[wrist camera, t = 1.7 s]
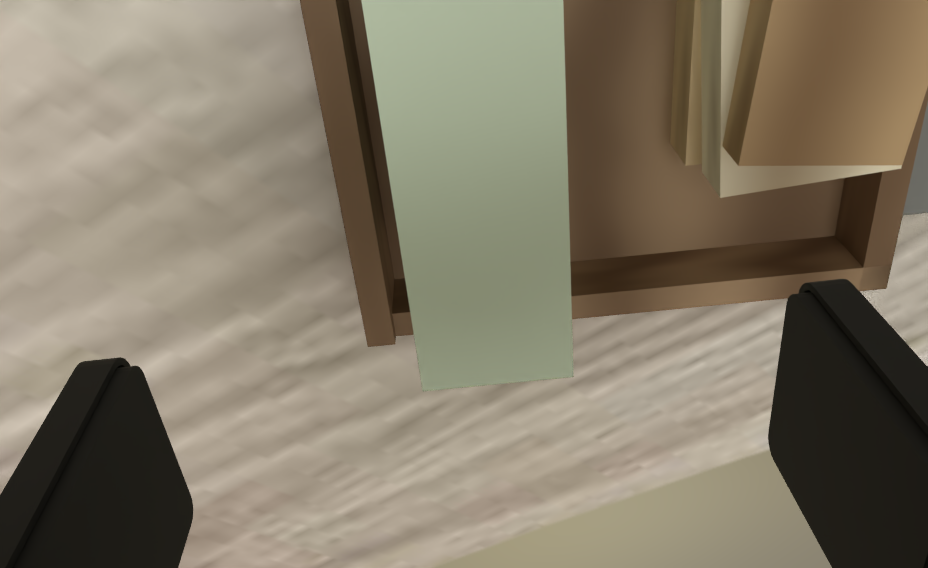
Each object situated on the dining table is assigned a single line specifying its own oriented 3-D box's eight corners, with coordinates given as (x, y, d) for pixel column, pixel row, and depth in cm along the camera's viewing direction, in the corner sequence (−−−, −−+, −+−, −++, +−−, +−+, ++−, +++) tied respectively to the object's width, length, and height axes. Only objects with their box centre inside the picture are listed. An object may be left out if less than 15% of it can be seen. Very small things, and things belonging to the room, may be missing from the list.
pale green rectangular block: (512, -162, 23) (559, -133, 15) (532, 207, 30) (573, 376, 21) (375, -147, 23) (344, -109, 15) (425, 218, 30) (422, 391, 21)
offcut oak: (881, -127, 24) (915, -120, 22) (839, 126, 28) (866, 147, 27) (681, -105, 24) (700, -97, 22) (670, 143, 28) (685, 165, 27)
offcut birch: (899, -106, 22) (938, -98, 21) (871, 144, 26) (901, 168, 25) (700, -70, 23) (722, -59, 21) (702, 172, 27) (720, 197, 25)
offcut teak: (941, -67, 21) (974, -58, 20) (877, 145, 24) (902, 165, 23) (763, -69, 21) (785, -59, 20) (721, 146, 24) (738, 165, 23)
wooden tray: (963, -361, 22) (1048, -385, 19) (849, 248, 32) (893, 295, 29) (267, -283, 22) (242, -293, 19) (373, 294, 32) (367, 346, 29)
